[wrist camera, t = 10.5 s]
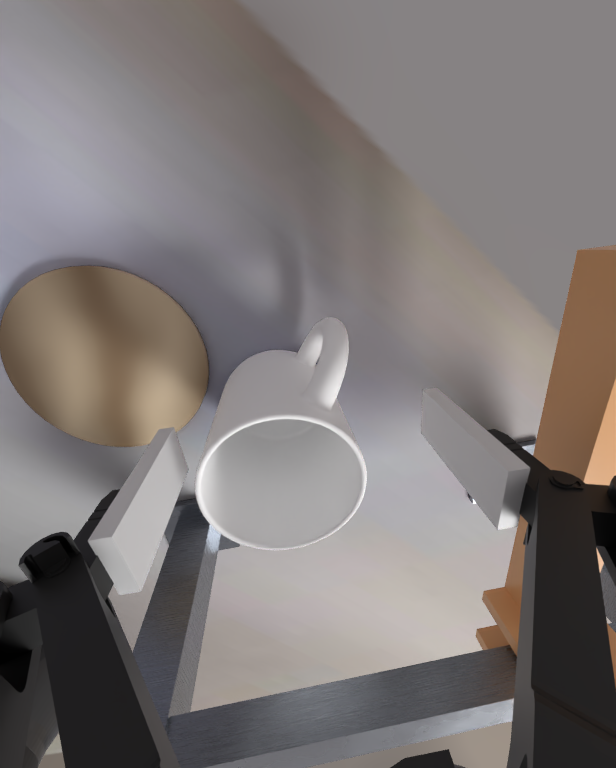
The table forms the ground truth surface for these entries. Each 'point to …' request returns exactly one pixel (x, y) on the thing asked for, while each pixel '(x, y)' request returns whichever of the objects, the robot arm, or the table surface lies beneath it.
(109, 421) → the coaster
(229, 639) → the table surface
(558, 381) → the orange bar
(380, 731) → the rail frame
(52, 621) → the robot arm
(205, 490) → the mug
